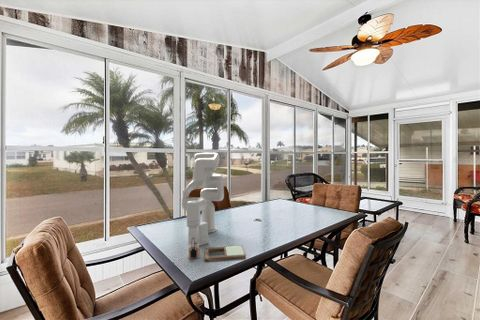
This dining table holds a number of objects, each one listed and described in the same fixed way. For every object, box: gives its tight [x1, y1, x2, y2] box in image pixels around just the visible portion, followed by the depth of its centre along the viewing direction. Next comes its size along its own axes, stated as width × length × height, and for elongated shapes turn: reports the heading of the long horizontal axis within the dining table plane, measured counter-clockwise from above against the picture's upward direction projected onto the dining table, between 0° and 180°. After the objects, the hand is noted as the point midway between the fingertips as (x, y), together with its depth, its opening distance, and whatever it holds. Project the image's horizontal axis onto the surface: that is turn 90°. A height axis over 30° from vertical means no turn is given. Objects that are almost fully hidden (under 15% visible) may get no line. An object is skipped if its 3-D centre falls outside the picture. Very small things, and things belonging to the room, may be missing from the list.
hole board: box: [204, 245, 247, 263], centre depth 126 cm, size 14×22×2 cm, turn 98°
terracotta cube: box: [188, 244, 200, 259], centre depth 124 cm, size 6×6×6 cm
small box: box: [197, 220, 209, 247], centre depth 142 cm, size 8×6×13 cm
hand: (194, 253), depth 124 cm, fingers open, 7 cm apart
